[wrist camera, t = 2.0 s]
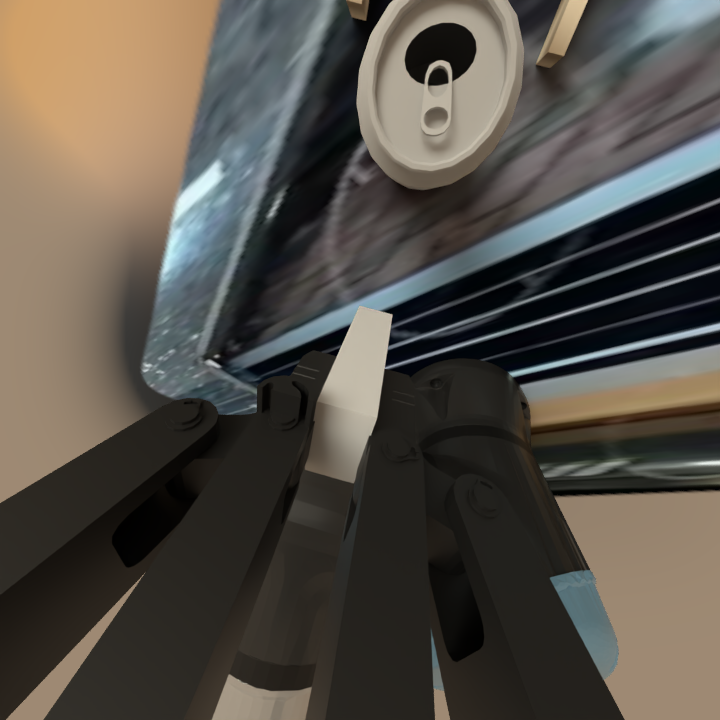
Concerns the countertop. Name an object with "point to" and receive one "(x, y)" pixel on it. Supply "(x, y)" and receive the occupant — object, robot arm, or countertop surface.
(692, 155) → the countertop surface
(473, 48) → the can
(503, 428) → the robot arm
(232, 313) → the countertop surface
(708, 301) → the countertop surface
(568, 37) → the wooden bracket
